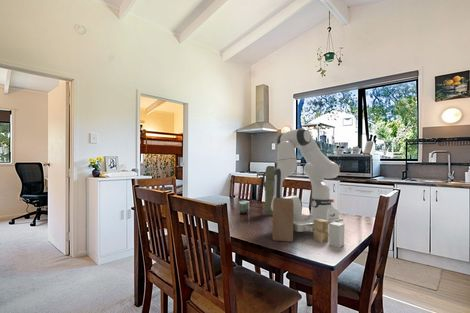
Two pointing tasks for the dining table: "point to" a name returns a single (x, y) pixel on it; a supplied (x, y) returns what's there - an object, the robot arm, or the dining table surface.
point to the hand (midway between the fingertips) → (320, 228)
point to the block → (283, 219)
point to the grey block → (336, 234)
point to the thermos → (268, 189)
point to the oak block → (321, 230)
